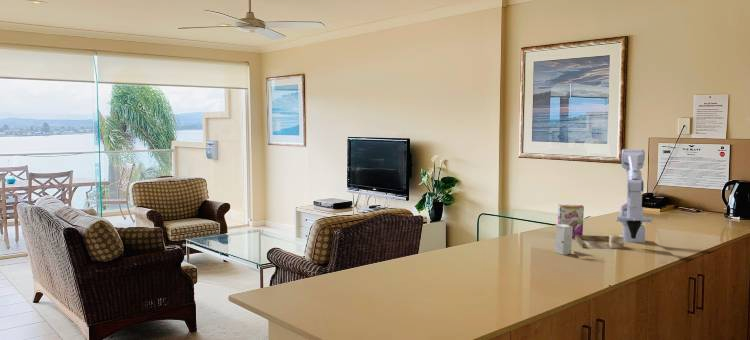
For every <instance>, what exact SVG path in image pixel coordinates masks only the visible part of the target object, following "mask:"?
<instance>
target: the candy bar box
mask: <svg viewBox="0 0 750 340" xmlns="http://www.w3.org/2000/svg"><path fill="white" fill-rule="evenodd" d="M557 207H558V212H557V214H558V215H557V225H561V224H565V225H569V226H572V227H573V232H572V238H575V235H583V233H584V230H583V229H584V213H585V211H584V210H585V209H584V205H582V204H569V203H568V204H567V203H566V204H564V203H559V204H558V206H557Z"/></svg>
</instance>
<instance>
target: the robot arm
mask: <svg viewBox="0 0 750 340" xmlns="http://www.w3.org/2000/svg"><path fill="white" fill-rule="evenodd" d="M645 157H646V152H645V149H644V148H643V149H632V148H631V149H627V148H626V149H625V148H622V150H621V168H623V169H625V172H626V203H624V204H623V205H621V207H620V210H619V216H615V221H616V222H620V223H621V224H622V234H621V235H622V236H623V237H624V242H627V243H646V226H645V225H644V224H643V223H653V217H650V216H649V217H648V216H644V208H643V206H642V205H643V194H644V191H645V184H644V179H643V176H642V175H643V174H642V170H641V169H643V168H644V166H645V165H644V163H645V159H646V158H645Z"/></svg>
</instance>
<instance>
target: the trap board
mask: <svg viewBox="0 0 750 340" xmlns="http://www.w3.org/2000/svg"><path fill="white" fill-rule="evenodd" d="M574 240H575V241H576V242H577V244H579V246H580V247H581V248H582V249H588V247H586V246H590V248H591V249H596V250H597V249H598V250H619V251H620V250H623V251H624V250H625V251H626V248H625V247H624V248H611V247H610V246H609V243H604V242H609V235H589V234H588V235H586V234H585V235H575V237H574Z"/></svg>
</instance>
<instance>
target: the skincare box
mask: <svg viewBox="0 0 750 340" xmlns="http://www.w3.org/2000/svg"><path fill="white" fill-rule="evenodd" d="M572 232H573V227H572V226H569V225H565V224H561V225H558V224H556V231H555V248H554V252H555V253H557V254H559V255H562V256H568V255H567V254H570V255H572V246H573V245H572V244H573V237H572Z"/></svg>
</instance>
